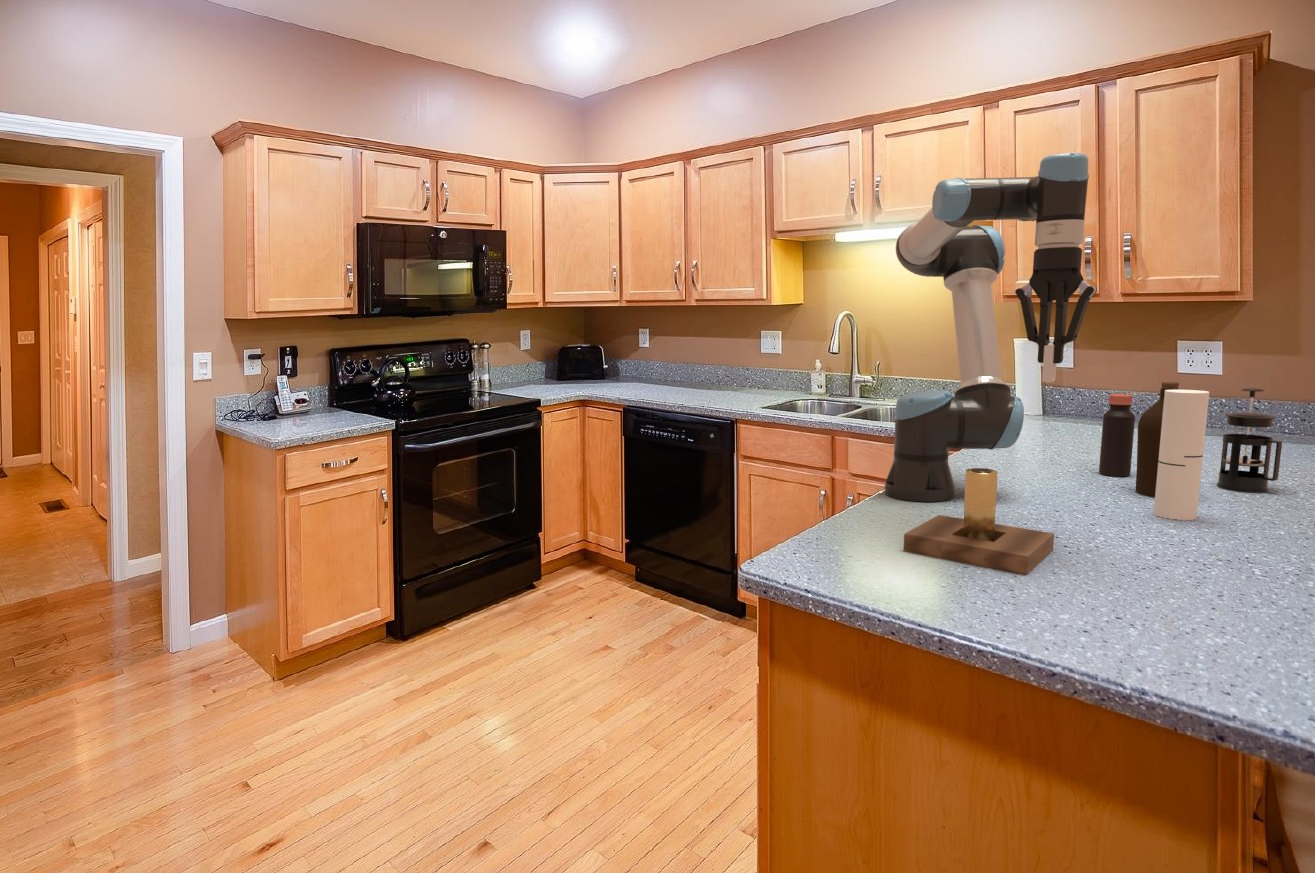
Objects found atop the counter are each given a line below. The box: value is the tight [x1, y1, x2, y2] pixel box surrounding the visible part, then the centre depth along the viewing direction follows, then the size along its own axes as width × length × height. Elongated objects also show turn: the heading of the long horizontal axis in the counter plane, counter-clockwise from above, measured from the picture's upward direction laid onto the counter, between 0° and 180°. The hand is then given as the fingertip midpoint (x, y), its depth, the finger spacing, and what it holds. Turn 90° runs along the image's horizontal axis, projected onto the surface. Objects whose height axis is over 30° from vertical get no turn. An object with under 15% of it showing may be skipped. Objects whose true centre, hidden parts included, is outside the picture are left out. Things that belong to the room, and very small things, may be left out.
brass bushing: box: [963, 467, 998, 542], centre depth 130 cm, size 5×5×14 cm
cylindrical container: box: [1153, 389, 1210, 521], centre depth 150 cm, size 7×7×25 cm
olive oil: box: [1135, 381, 1180, 498], centre depth 168 cm, size 11×11×25 cm
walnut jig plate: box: [903, 514, 1055, 576], centre depth 131 cm, size 20×16×3 cm
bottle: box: [1098, 393, 1136, 478], centre depth 189 cm, size 7×7×20 cm
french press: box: [1216, 387, 1283, 494], centre depth 172 cm, size 12×9×23 cm
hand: (1048, 381), depth 136 cm, fingers closed
